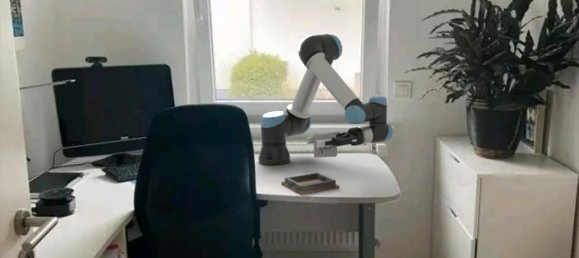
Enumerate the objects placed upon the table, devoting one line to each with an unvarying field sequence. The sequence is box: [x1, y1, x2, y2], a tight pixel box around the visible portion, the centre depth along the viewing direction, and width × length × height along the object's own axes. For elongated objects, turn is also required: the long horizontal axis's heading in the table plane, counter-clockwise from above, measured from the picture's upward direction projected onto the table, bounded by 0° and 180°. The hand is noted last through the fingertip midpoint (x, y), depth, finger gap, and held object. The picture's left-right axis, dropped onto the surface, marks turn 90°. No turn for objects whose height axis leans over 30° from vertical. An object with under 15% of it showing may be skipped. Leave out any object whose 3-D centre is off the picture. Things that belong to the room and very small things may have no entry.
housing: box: [281, 172, 340, 196], centre depth 224 cm, size 17×17×3 cm
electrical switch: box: [312, 133, 338, 158], centre depth 225 cm, size 9×5×9 cm, turn 95°
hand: (312, 142), depth 223 cm, fingers closed on electrical switch, 7 cm apart
